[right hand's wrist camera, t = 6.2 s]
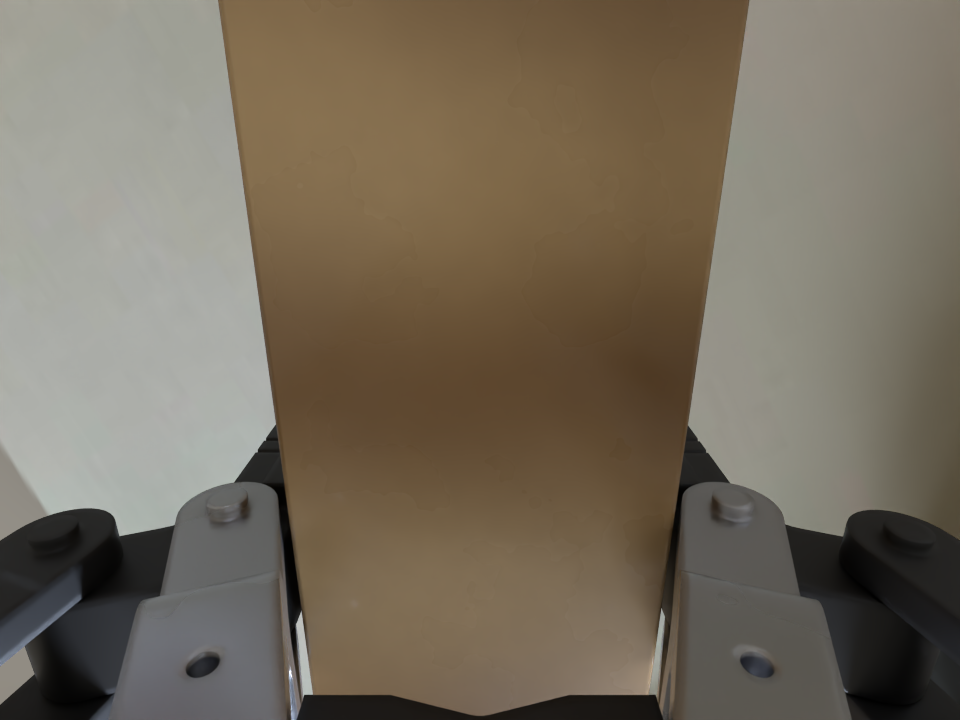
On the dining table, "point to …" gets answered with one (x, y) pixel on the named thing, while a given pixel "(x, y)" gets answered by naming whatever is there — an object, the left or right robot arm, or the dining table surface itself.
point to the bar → (482, 323)
